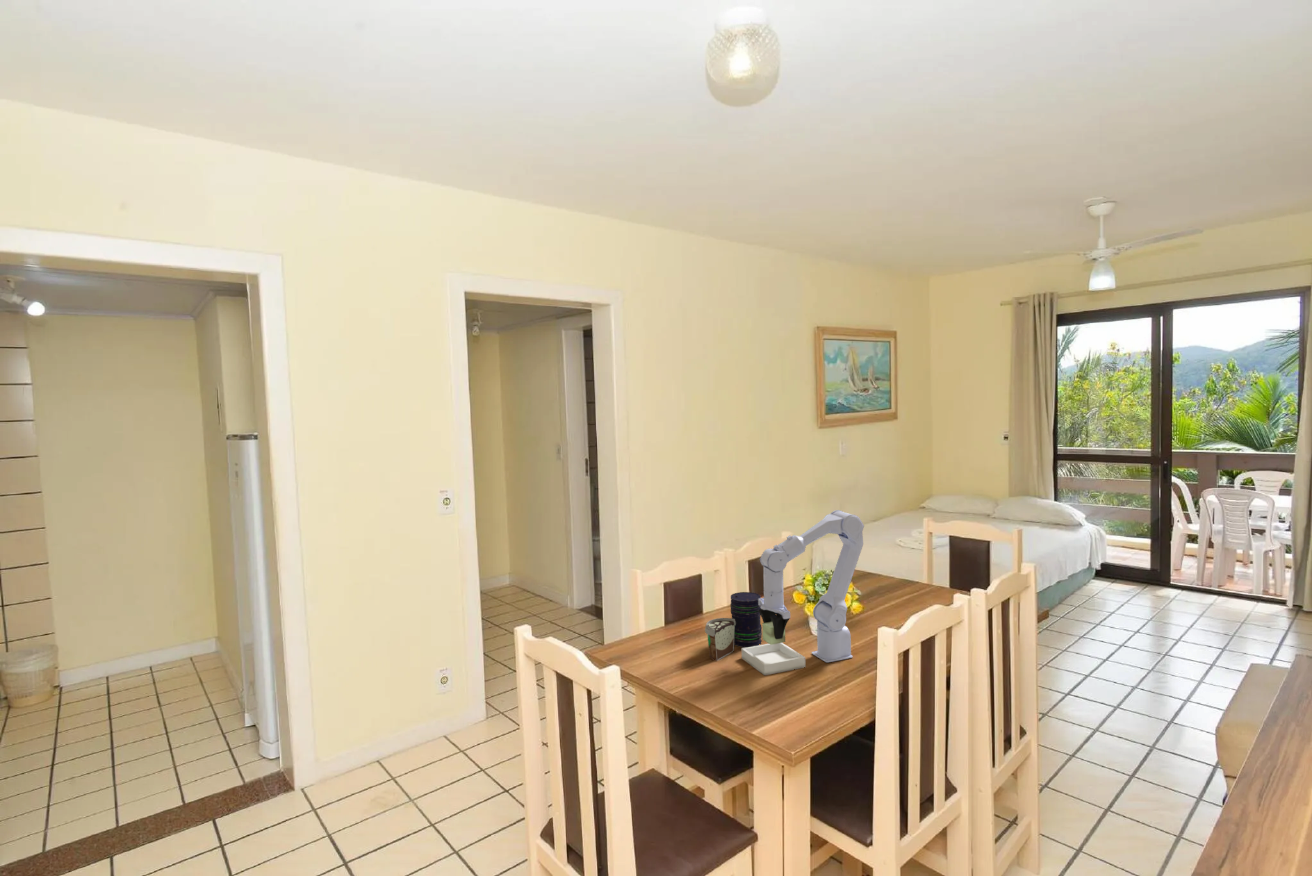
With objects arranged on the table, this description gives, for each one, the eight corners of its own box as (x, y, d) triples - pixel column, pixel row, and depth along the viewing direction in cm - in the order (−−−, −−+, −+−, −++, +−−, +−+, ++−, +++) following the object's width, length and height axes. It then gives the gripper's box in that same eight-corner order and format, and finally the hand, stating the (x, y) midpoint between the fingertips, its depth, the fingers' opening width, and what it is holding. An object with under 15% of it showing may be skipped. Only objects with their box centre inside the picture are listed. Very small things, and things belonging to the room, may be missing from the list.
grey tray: (780, 651, 201) (780, 641, 201) (805, 667, 189) (805, 657, 189) (741, 658, 197) (741, 648, 196) (764, 675, 184) (764, 665, 184)
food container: (719, 645, 207) (719, 614, 207) (736, 649, 203) (735, 618, 203) (697, 658, 198) (696, 625, 197) (714, 662, 194) (713, 629, 193)
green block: (777, 637, 195) (776, 620, 194) (785, 642, 190) (785, 625, 190) (762, 639, 193) (762, 623, 192) (770, 644, 189) (770, 627, 188)
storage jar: (761, 636, 214) (760, 592, 213) (763, 647, 204) (762, 601, 204) (730, 636, 215) (729, 591, 214) (731, 647, 205) (730, 601, 205)
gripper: (749, 585, 196) (750, 629, 197) (774, 598, 183) (775, 646, 183) (769, 582, 199) (770, 626, 199) (796, 595, 185) (796, 642, 186)
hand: (774, 635), depth 192 cm, fingers closed on green block, 4 cm apart
